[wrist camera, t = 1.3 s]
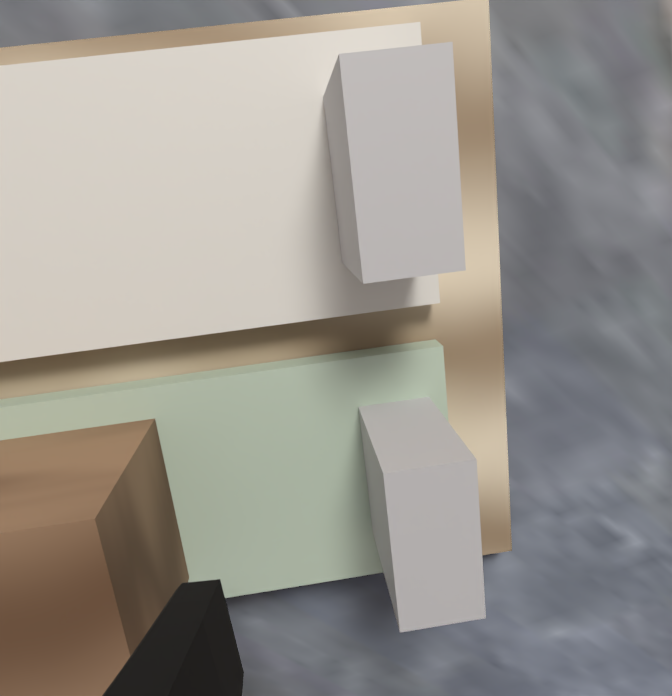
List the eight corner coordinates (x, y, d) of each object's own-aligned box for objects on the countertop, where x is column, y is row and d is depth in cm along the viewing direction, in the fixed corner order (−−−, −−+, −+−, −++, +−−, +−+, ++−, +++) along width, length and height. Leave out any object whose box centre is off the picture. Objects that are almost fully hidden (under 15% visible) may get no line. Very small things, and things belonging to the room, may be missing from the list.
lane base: (500, 532, 19) (511, 550, 18) (21, 609, 18) (6, 632, 17) (475, 11, 15) (488, -3, 14) (-145, 75, 14) (-176, 65, 13)
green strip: (450, 545, 18) (509, 664, 13) (0, 616, 17) (-105, 770, 12) (435, 338, 16) (496, 393, 11) (-67, 408, 15) (-219, 497, 11)
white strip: (432, 298, 16) (494, 336, 11) (-81, 366, 15) (-243, 439, 10) (412, 32, 14) (476, -53, 9) (-169, 93, 13) (-412, 33, 9)
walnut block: (188, 577, 16) (149, 732, 12) (14, 605, 16) (-101, 776, 11) (155, 418, 15) (94, 518, 10) (-36, 445, 15) (-191, 561, 10)
